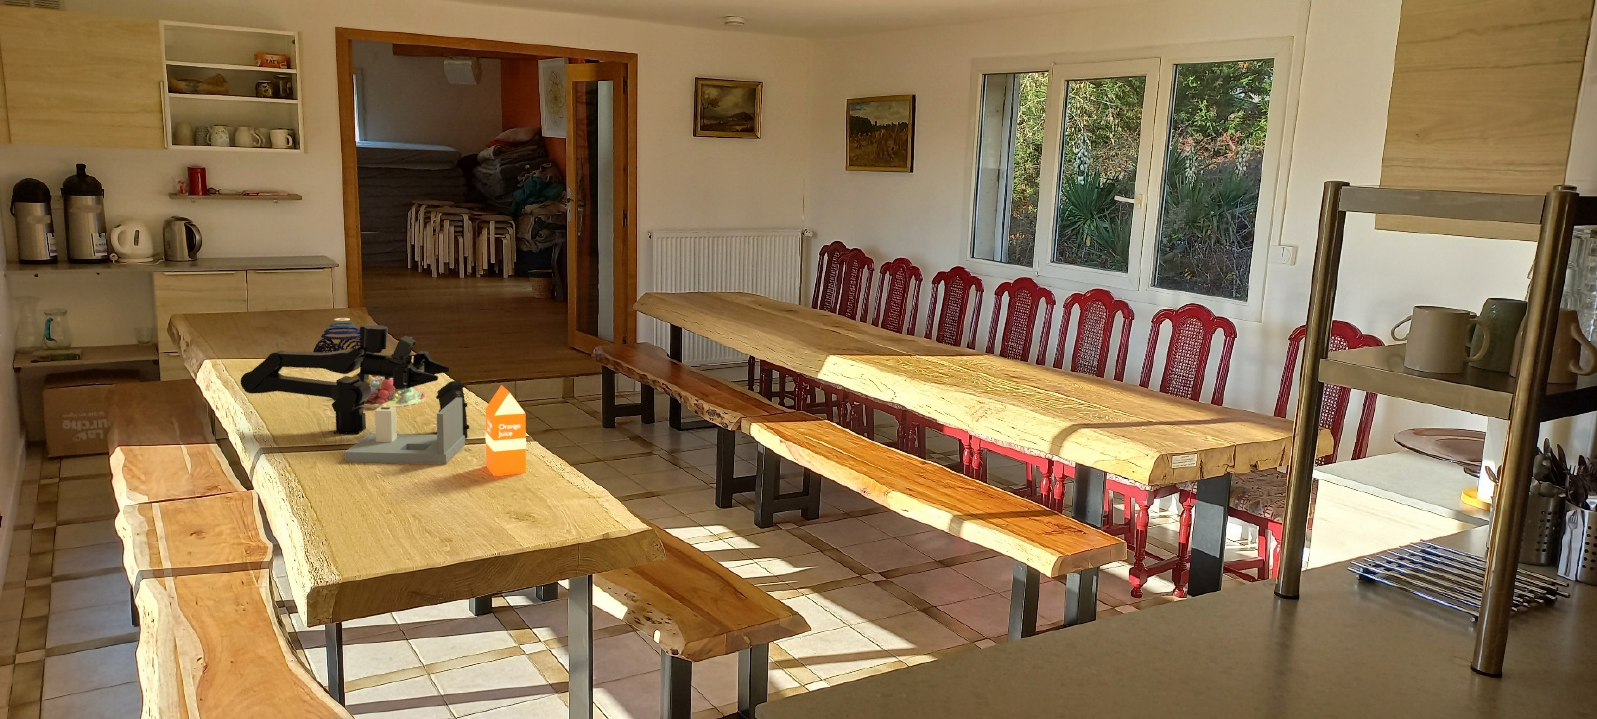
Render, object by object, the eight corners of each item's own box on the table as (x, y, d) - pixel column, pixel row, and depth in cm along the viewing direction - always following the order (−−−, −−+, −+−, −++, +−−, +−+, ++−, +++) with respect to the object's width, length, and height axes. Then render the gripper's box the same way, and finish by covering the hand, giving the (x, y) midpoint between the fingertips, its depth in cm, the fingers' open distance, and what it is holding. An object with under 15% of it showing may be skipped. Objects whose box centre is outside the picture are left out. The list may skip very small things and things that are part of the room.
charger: (375, 441, 277) (374, 409, 276) (381, 437, 281) (379, 405, 280) (392, 441, 278) (391, 409, 276) (397, 437, 282) (396, 406, 280)
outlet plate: (345, 461, 268) (343, 411, 266) (370, 442, 286) (369, 395, 283) (446, 464, 269) (445, 414, 267) (465, 444, 287) (464, 397, 284)
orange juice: (493, 476, 261) (492, 393, 258) (485, 466, 269) (484, 385, 265) (526, 472, 265) (526, 390, 261) (518, 463, 272) (517, 383, 269)
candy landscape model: (323, 402, 328) (322, 372, 326) (381, 388, 349) (380, 359, 348) (390, 412, 319) (389, 381, 317) (445, 397, 340) (444, 367, 339)
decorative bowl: (300, 362, 383) (298, 321, 381) (333, 352, 403) (331, 313, 400) (353, 366, 380) (352, 324, 378) (384, 356, 400) (383, 316, 397)
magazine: (460, 436, 288) (449, 381, 291) (443, 447, 298) (432, 393, 301) (474, 434, 291) (463, 379, 293) (456, 445, 301) (446, 392, 303)
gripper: (372, 344, 282) (433, 352, 282) (399, 329, 300) (456, 336, 300) (370, 386, 284) (431, 394, 284) (397, 368, 302) (454, 376, 303)
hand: (443, 373), depth 293 cm, fingers open, 9 cm apart
